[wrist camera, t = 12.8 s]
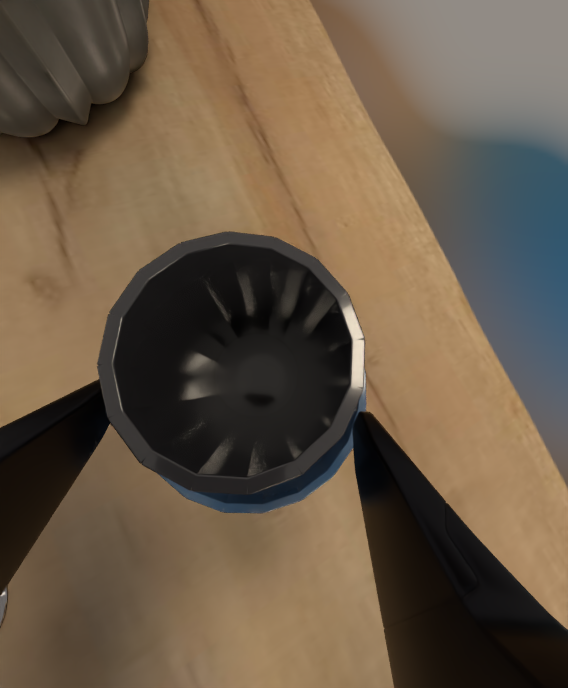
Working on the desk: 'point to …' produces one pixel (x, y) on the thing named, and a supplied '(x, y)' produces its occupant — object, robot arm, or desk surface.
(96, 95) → the bundt pan
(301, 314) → the cup
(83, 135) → the desk surface
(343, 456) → the bowl
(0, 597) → the wine glass
